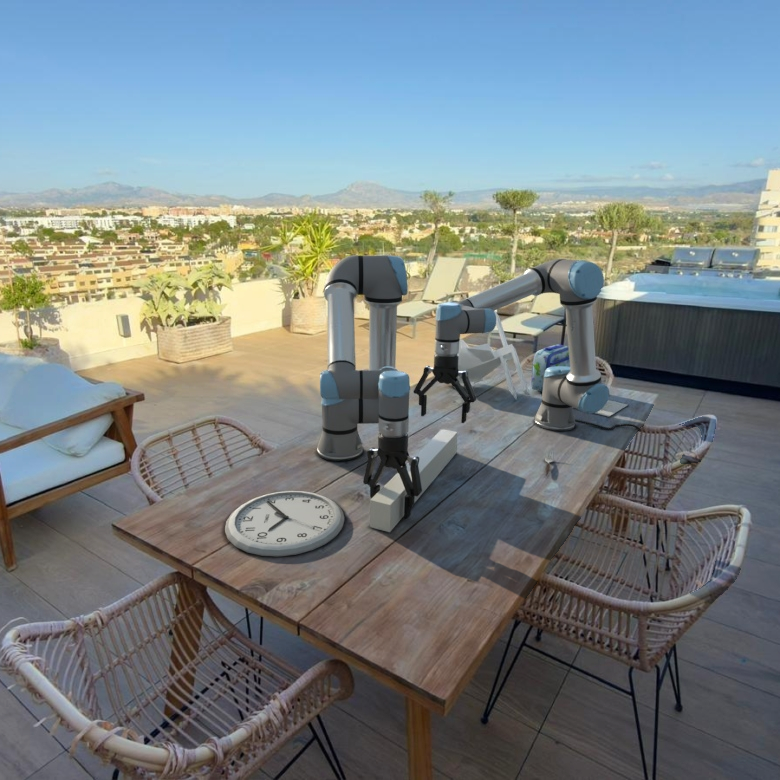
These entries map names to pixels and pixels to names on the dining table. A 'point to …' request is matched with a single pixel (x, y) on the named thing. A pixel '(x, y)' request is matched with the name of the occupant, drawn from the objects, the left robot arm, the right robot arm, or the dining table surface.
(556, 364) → the lunch box
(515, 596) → the dining table surface
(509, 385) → the white plastic object
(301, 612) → the dining table surface
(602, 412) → the invitation card
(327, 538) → the wall clock
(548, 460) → the fork
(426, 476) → the beam
